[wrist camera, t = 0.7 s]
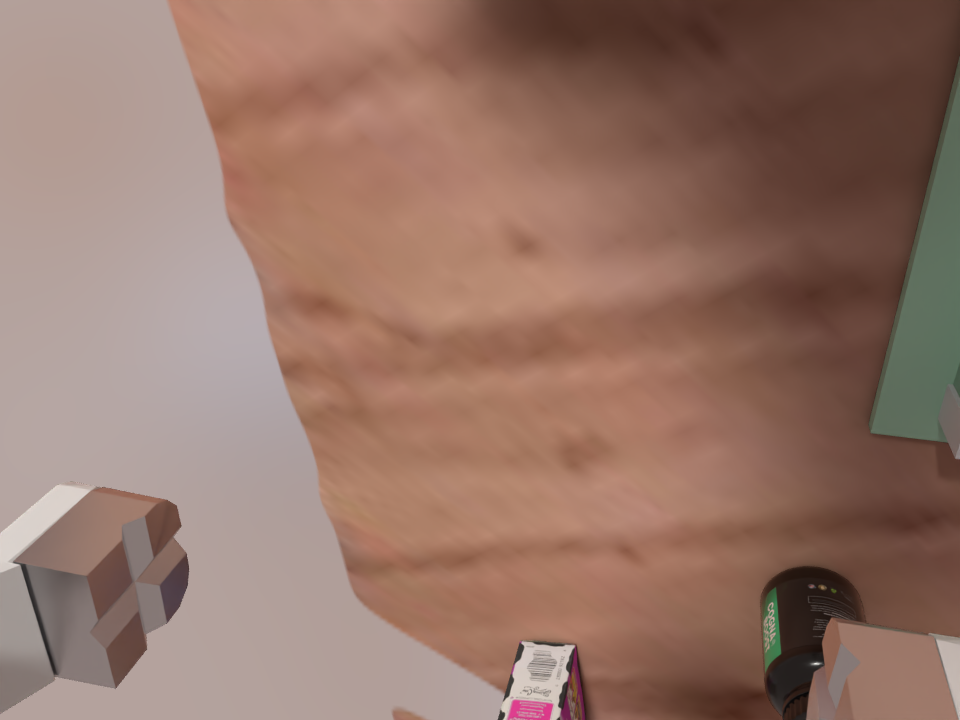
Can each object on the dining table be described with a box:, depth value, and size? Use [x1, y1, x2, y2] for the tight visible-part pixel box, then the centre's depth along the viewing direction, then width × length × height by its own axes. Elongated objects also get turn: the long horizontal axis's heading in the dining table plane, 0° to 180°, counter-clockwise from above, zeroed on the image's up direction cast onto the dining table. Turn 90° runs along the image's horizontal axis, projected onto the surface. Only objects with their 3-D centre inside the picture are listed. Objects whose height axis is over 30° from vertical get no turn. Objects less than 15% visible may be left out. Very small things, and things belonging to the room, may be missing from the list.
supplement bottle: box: [760, 566, 866, 720], centre depth 57 cm, size 7×7×12 cm
